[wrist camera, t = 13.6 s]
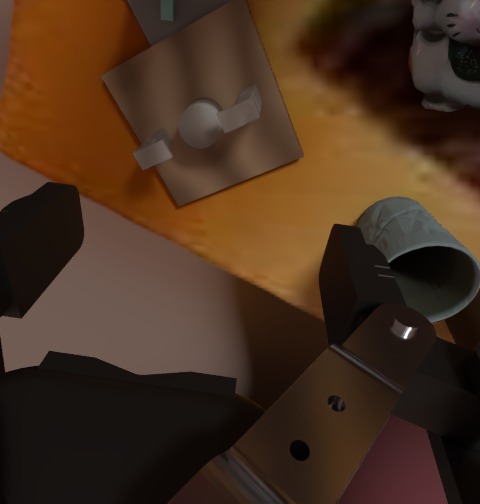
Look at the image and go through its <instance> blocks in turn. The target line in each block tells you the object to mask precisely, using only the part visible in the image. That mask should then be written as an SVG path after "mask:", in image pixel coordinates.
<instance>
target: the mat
mask: <svg viewBox="0 0 480 504" xmlns="http://www.w3.org/2000/svg"><path fill="white" fill-rule="evenodd" d="M127 1H128V3H129V5H130V7H131V9H132V11H133V13H134V15H135V17H136V19H137V21H138V23H139V25H140V27H141V29H142V30H143V32H144V34H145V36H146V38H147V40H148V42H149V44H150V46H151V47H152V46H154V45H155V44H157V43H159V42H161V41H162V40H164V39H166V38H168V37H169V36H171V35H173V34H175V33H176V32H178V31H180V30H182V29H183V28H185V27H187V26H189V25H190V24H192V23H194V22H196V21H197V20H199V19H201V18H203V17H204V16H206V15H208V14H210V13H211V12H213V11H215V10H217V9H218V8H220V7H222V6H224V5H225V4H227V3H229V2H231V1H232V0H175V21H167V20H161V1H160V0H127Z"/></svg>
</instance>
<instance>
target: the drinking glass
mask: <svg viewBox="0 0 480 504" xmlns="http://www.w3.org/2000/svg"><path fill="white" fill-rule="evenodd" d="M357 227H359V228H360V229H361V232H362V234H363V237H364V240H365V242H366V244H370V245H374V246H376V247H377V248H378V249H379V250H380V251H381V252H382V253H383V254H384V255H385V257H386V259H387V261H388V263H389V266H390V269H391V270H392V273H393V275H394V278H395V279H396V282H397V284H398V286H399V288H400V291H401V293H402V295H403V298H404V300H405V302H406V304H407V307H410V308H412V309H414V310H416V311H418V312H419V313H421V314H422V315H423V316H425V317H426V318H427V319H428V320H429V321H430V322H431V323H432V322H436V321H440V320H443V319H446V318H448V317H450V316H453V315H454V314H456V313H458V312H459V311H461V310H462V309H463V308H464V307H466V306H467V305H468V304H469V303H470V302H471V301H472V300H473V298H474V297H475V295H476V294H477V292H478V290H479V288H480V264H479V262H478V260H477V259H476V257H475V256H474V255H473V254H472V253H471V252H470V251H469V250H468V249H467V248H466V247H464V246H463V245H462V244H461V243H460V242H459V241H458V240H457V239H456V238H455V237H454V236H453V235H452V234H450V232H449V231H448V230H446V229H445V228H443V227H442V225H441V224H439V223H437V221H436V219H434V217H433V216H432V215H431V214H430V213H429V212H428V211H427V210H426V209H425V208H424V207H423V206H422V205H421V204H419V203H418V202H416V201H414V200H412V199H409V198H406V197H390V198H386V199H383V200H380V201H377V202H376V203H374V204H373V205H372V206H370V207H369V208H368V209H367V210H365V211H364V213H363V215H362V216H361V218H360V219H359V222H358V225H357Z"/></svg>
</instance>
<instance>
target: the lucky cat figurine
mask: <svg viewBox="0 0 480 504" xmlns="http://www.w3.org/2000/svg"><path fill="white" fill-rule="evenodd" d="M412 5H413V6H414V11H413V19H412V22H413V25H414V39H413V44H412V46H411V47H410V52H409V59H408V65H409V69H410V72H411V75H412V80H413V86H414V87H416V88H417V89H418V90H420V91H421V92H423V96H424V98H423V100H422V103H421V104H422V106H423V107H425V109H433V110H438V111H443V112H452V111H456V110H460V109H462V108H464V107H468V108H473V109H480V0H412Z"/></svg>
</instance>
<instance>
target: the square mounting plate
mask: <svg viewBox="0 0 480 504" xmlns="http://www.w3.org/2000/svg"><path fill="white" fill-rule="evenodd" d="M101 77H102V79H103V81H104V82H105V84H106V86H107V87H108V89H109V91H110V92H111V94H112V96H113V97H114V99H115V101H116V102H117V104H118V106H119V107H120V109H121V111H122V112H123V114H124V116H125V117H126V119H127V121H128V122H129V124H130V126H131V127H132V129H133V131H134V132H135V134H136V136H137V137H138V139H139V141H140V142H141V144H142V145H141V146H140V147H139V148H138V149H137V150H136V151H135V152H134V153H133V155H134V157H135V159H136V160H137V162H138V163H139V165H140V167H141V168H142V170H145V169H148V168H150V167H152V166H155V167H156V169H157V171H158V172H159V174H160V176H161V177H162V179H163V181H164V182H165V184H166V186H167V187H168V189H169V191H170V192H171V194H172V196H173V197H174V199H175V201H176V202H177V204H178V206H181V205H184V204H186V203H189V202H191V201H194V200H196V199H199V198H201V197H204V196H206V195H209V194H211V193H214V192H216V191H219V190H221V189H224V188H226V187H229V186H231V185H234V184H236V183H239V182H241V181H244V180H246V179H249V178H251V177H254V176H256V175H259V174H261V173H264V172H267V171H269V170H272V169H274V168H277V167H279V166H282V165H284V164H287V163H289V162H292V161H294V160H297V159H299V158H302V157H304V156H303V152H302V149H301V146H300V144H299V141H298V138H297V136H296V133H295V130H294V128H293V125H292V122H291V120H290V117H289V114H288V111H287V109H286V106H285V103H284V101H283V98H282V95H281V93H280V90H279V87H278V85H277V82H276V79H275V77H274V74H273V71H272V69H271V66H270V63H269V61H268V58H267V55H266V53H265V50H264V47H263V45H262V42H261V39H260V36H259V34H258V31H257V28H256V26H255V23H254V20H253V18H252V15H251V12H250V10H249V7H248V4H247V2H246V0H232V1H231V2H229V3H227V4H225V5H224V6H222V7H220V8H218V9H217V10H215V11H213V12H211V13H210V14H208V15H206V16H204V17H203V18H201V19H199V20H197V21H196V22H194V23H192V24H190V25H189V26H187V27H185V28H183V29H182V30H180V31H178V32H176V33H175V34H173V35H171V36H169V37H168V38H166V39H164V40H162V41H161V42H159V43H157V44H155V45H154V46H152V47H150V48H148V49H147V50H145V51H143V52H141V53H140V54H138V55H136V56H134V57H133V58H131V59H129V60H127V61H126V62H124V63H122V64H120V65H119V66H117V67H115V68H113V69H112V70H110V71H108V72H106V73H104V74H103V75H101Z"/></svg>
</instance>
